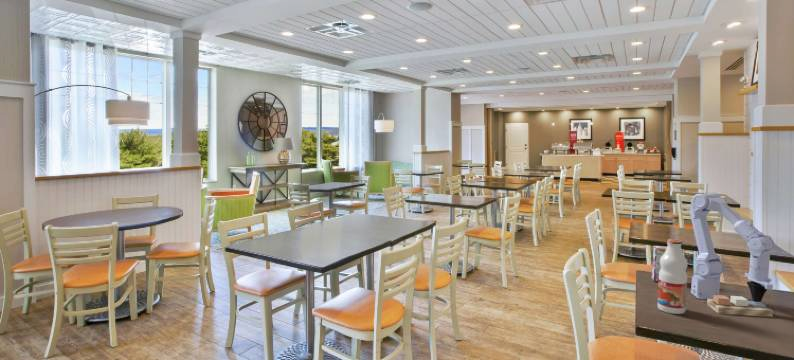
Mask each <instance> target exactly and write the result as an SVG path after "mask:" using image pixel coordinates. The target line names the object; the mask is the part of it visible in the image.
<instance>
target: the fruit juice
mask: <svg viewBox="0 0 794 360" xmlns="http://www.w3.org/2000/svg"><path fill="white" fill-rule="evenodd" d="M666 244H667V246H666V247H667V249H666V251H665V253H664V254H663V255H662V257H661V258H660V265H661V270H660V272H659V282H657V285H658V288H657V308H658V310H659V311H661V312H665V313H668V314H673V315H682V314H685V312H686V310H687V307H686V306H687V289H688V274H687V268H688V260H687V258H686V257H685V255H684V253H682V250H683V249H682V244H683V241H682V240H681V239H676V238H667V240H666ZM681 249H682V250H681Z"/></svg>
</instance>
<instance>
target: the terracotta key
mask: <svg viewBox="0 0 794 360" xmlns="http://www.w3.org/2000/svg"><path fill="white" fill-rule="evenodd" d="M730 299H731V298H729V297H728V296H726V295H721V294H719V295H713V301H714V302H715V303H717V304H718V305H730Z"/></svg>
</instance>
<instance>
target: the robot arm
mask: <svg viewBox="0 0 794 360" xmlns="http://www.w3.org/2000/svg"><path fill="white" fill-rule="evenodd" d="M690 204H691V206H690V211H689V216H690V220H691V223H692V224H691V225H692V228H693V232H694V237H695V242H696V245H697V249H698V253H699V254H698V255H697V256H696V259H695V261H696V263H695V271H696V272H697V274H694V275H692V276H691V287H690V293H691V294H692V295H693V296H695V297H696V298H697V299H700V300H707V299H713V295H720V285H721V276H722V274H723V273H724V272H725V271H726V269H725V265H724V262H723V261H722V260H721V257H720V255H718V254H717V253H716V251H715V248H714V243H713V239H712V235H711V230H710V228H709V227H710V226H709V222H708V217H707V215H708V214H709V213H710V212H711V211H714V212H718V213H719V214H720V215H721V216H722V217H723V218H725V219H726V220H728V222H730V223H731V224H732V225H733V230H734V231H735V232H736V233H737V235H739V236H740V237H741V238H742V239H743V240H744V241H745V242H746V243H747V244H746V245H747V248H748V249H749V254H750V255H749V269H748V271H749V272H744V278H746V279H748V280H749V281H746V284H747V287H748V288H749V291H750V294H751V299H752V300H751V301H754V302H761V303H762V301H763V298H764V296H765V294H766V293H767V291H768V290H773V289H774V285H773V284H772V279H771V278H769V271H770V260H771V258H770V257H771V250H772V249H773V248H774V247H775V242H774V239H773V238H772V237H771V236H769V235H766V234H764V233H763V232H762V231H760V230H759V229H758V228H756V227H755V226H754V223H753V222H752V221H749V220H746V219H745V220H744V219H742V218H741V217H740V216H739V215H738V213H736V212H735V211H734V210H733V209H732V208H731V207H730V206H729V204H727V203H726V200H725V199H724V198H723V197H722V196H721V195H720V194H719V193H717V192H708V193H696V194H694V195H693V197H692V198H691V199H690Z"/></svg>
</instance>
